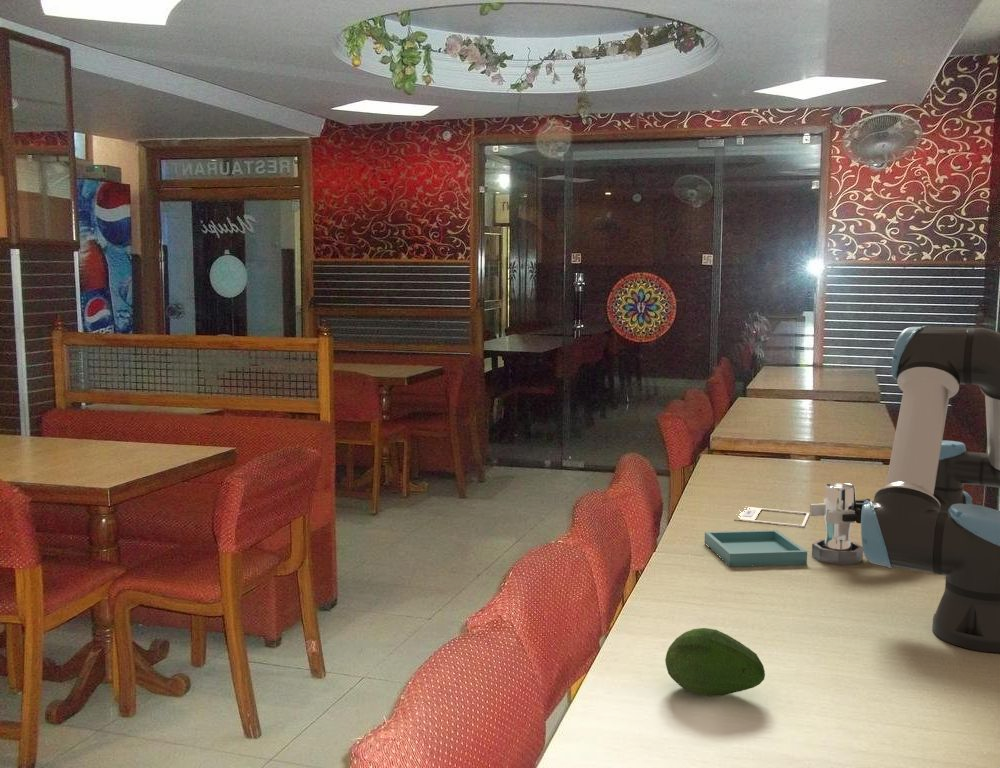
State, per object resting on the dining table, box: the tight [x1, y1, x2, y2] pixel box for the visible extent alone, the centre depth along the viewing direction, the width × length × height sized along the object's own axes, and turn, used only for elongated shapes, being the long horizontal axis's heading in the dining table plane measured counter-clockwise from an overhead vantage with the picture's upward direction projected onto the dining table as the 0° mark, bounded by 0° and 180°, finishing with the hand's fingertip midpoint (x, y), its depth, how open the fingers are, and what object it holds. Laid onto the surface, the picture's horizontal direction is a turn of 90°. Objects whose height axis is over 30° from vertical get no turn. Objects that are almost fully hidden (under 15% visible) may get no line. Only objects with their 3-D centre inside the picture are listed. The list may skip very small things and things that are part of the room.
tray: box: [704, 529, 808, 567], centre depth 219 cm, size 18×18×3 cm
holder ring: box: [811, 538, 864, 566], centre depth 216 cm, size 10×10×3 cm
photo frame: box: [738, 506, 810, 529], centre depth 252 cm, size 15×1×18 cm
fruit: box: [664, 627, 766, 697], centre depth 145 cm, size 15×10×10 cm, turn 65°
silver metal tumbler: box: [823, 481, 857, 551], centre depth 215 cm, size 7×7×15 cm
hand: (819, 513), depth 213 cm, fingers closed on silver metal tumbler, 7 cm apart
